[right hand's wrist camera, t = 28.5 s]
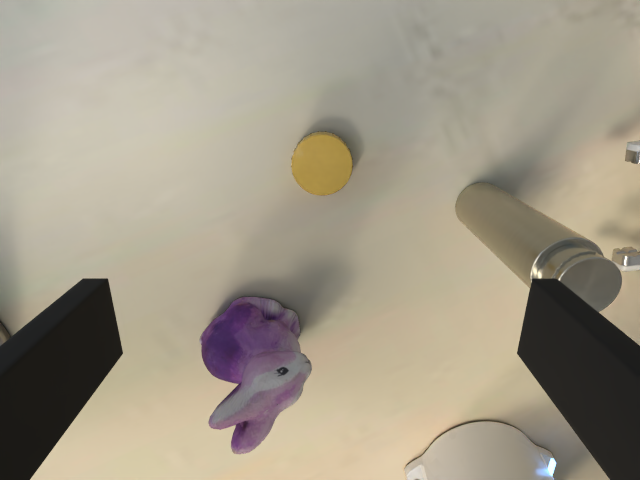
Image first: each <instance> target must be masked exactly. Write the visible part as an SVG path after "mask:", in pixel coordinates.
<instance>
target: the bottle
mask: <svg viewBox="0 0 640 480" xmlns="http://www.w3.org/2000/svg"><path fill="white" fill-rule="evenodd" d="M455 210H456V215H457V217H458V219H459V220H460V221H461V222H462V223H463V224H464V225H465V226H466V227H467V228H468V229H469V230H470V231H471V232H472V233H473V234H474V235H475V236H476V237H477V238H478V239H479V240H480V241H481V242H482V243H483V244H484V245H485V246H486V247H487V248H489V249H490V250H491V251H492V252H493V253H494V254H495V255H496V256H497V257H498V258H499V259H500V260H501V261H502V262H503V263H504V264H505V265H506V266H507V267H508V268H509V269H510V270H511V271H512V272H513V273H514V274H516V275H517V276H518V277H519V278H520V279H521V280H522V281H523V282H524V283H525V284H526V285H527V286H528V287H529V288H530V287H531V282H532V279H558V280H559V281H560V282H562V283H563V284H564V285H565V286H567V287H568V288H569V289H570V290H572V291H573V292H574V293H575V294H576V295H578V296H579V297H580V298H581V299H583V300H584V301H585V302H586V303H588V304H589V305H590V306H591V307H592V308H594V309H595V310H596V311H597V312H599V311H601V310H603V309H604V308H606V307H607V306H608V305H610V304H611V303H612V302H613V301H614V299H615V298H616V297H617V295H618V293H619V291H620V288H621V284H622V277H621V273H620V270H619V268H618V267H617V266H616V264H614V263H613V262H612V261H610V260H608V259H607V258H605V257H604V256H603V253H602V251H601V250H600V248H599V247H598V246H597V245H596V244H595V243H593V242H592V241H590V240H588V239H587V238H585V237H583V236H581V235H580V234H578V233H576V232H574V231H573V230H571V229H569V228H567V227H566V226H564V225H562V224H560V223H559V222H557V221H555V220H553V219H552V218H550V217H548V216H546V215H545V214H543V213H541V212H539V211H538V210H536V209H534V208H532V207H531V206H529V205H527V204H525V203H524V202H522V201H520V200H518V199H517V198H515V197H513V196H511V195H510V194H508V193H506V192H504V191H503V190H501V189H499V188H497V187H496V186H494V185H492V184H490V183H485V182H480V183H475V184H472V185H470V186H468V187H467V188H465V189H464V190H463V191H462V192H461V194H460V195H459V197H458V199H457V201H456V206H455Z"/></svg>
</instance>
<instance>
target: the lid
mask: <svg viewBox="0 0 640 480" xmlns="http://www.w3.org/2000/svg"><path fill="white" fill-rule="evenodd" d="M291 160H292V165H291V167H292V172H293V176H294V178H295V180H296V182H297V183H298V184H299V185H300V187H302V188H303V189H304V190H305V191H307V192H309V193H311V194H315V195H329V194H332V193H335V192H337V191H338V190H340V189H341V188H342V187H343V186H344V185H345V184H346V183H347V181H348V180H349V178H350V175H351V172H352V167H353V165H352V160H353V159H352V156H351V154H350V150H349V148H347V146H346V143H345V142H343V141H342V140H341V138H340V137H338V136H336V135H334V133H332V134H331V133H328V132H326V131H325V132H319V131H318V132H316V133H312V134H311V133H310V135H308V136H306V137H304V138H303V139H302V140H301V142H299V143H298V146H297V147H296V148H295V149H294V155H293V156H292V159H291Z"/></svg>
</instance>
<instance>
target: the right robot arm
mask: <svg viewBox="0 0 640 480" xmlns="http://www.w3.org/2000/svg"><path fill="white" fill-rule="evenodd" d="M122 354H123V351H122V346H121V341H120V336H119V331H118V326H117V321H116V317H115V312H114V307H113V302H112V297H111V292H110V287H109V282H108V279H82V280H81V281H80V282H78V283H77V284H76V285H75V286H73V287H72V288H71V289H70V290H68V291H67V292H66V293H65V294H64V295H62V296H61V297H60V298H59V299H57V300H56V301H55V302H54V303H52V304H51V305H50V306H49V307H48V308H46V309H45V310H44V311H43V312H41V313H40V314H39V315H38V316H36V317H35V318H34V319H33V320H32V321H30V322H29V323H28V324H27V325H25V326H24V327H23V328H22V329H20V330H19V331H18V332H17V333H16V334H14V335H13V336H12V337H11V338H10V336H9V334H8V332H7V331H6V329H5V328H4V326H3V325H2V324H1V322H0V480H30V479H31V477H32V476H33V475H34V473H35V472H36V471H37V469H38V468H39V467H40V465H41V464H42V462H43V461H44V460H45V458H46V457H47V456H48V454H49V453H50V452H51V450H52V449H53V448H54V446H55V445H56V443H57V442H58V441H59V439H60V438H61V437H62V435H63V434H64V433H65V431H66V430H67V429H68V427H69V426H70V424H71V423H72V422H73V420H74V419H75V418H76V416H77V415H78V414H79V412H80V411H81V410H82V408H83V407H84V405H85V404H86V403H87V401H88V400H89V399H90V397H91V396H92V395H93V393H94V392H95V391H96V389H97V388H98V387H99V385H100V384H101V382H102V381H103V380H104V378H105V377H106V376H107V374H108V373H109V372H110V370H111V369H112V368H113V366H114V365H115V363H116V362H117V361H118V359H119V358H120V357H121V355H122ZM517 354H518V355H519V357H520V358H521V359H522V361H523V362H524V363H525V365H526V366H527V368H528V369H529V370H530V372H531V373H532V374H533V376H534V377H535V378H536V380H537V381H538V382H539V384H540V385H541V387H542V388H543V389H544V391H545V392H546V393H547V395H548V396H549V397H550V399H551V400H552V401H553V403H554V404H555V405H556V407H557V408H558V410H559V411H560V412H561V414H562V415H563V416H564V418H565V419H566V420H567V422H568V423H569V424H570V426H571V427H572V429H573V430H574V431H575V433H576V434H577V435H578V437H579V438H580V439H581V441H582V442H583V443H584V445H585V446H586V448H587V449H588V450H589V452H590V453H591V454H592V456H593V457H594V458H595V460H596V461H597V462H598V464H599V465H600V467H601V468H602V469H603V471H604V472H605V473H606V475H607V476H608V477H609V479H610V480H640V346H639V345H638V344H637V343H636V342H634V341H633V340H632V339H631V338H629V337H628V336H627V335H626V334H624V333H623V332H622V331H621V330H620V329H618V328H617V327H616V326H615V325H613V324H612V323H611V322H610V321H608V320H607V319H606V318H605V317H604V316H602V315H601V314H600V313H599V312H597V311H596V310H595V309H594V308H592V307H591V306H590V305H589V304H588V303H586V302H585V301H584V300H583V299H581V298H580V297H579V296H578V295H576V294H575V293H574V292H573V291H572V290H570V289H569V288H568V287H567V286H565V285H564V284H563V283H562V282H560V281H559V280H558V279H532V282H531V287H530V292H529V297H528V302H527V307H526V312H525V317H524V321H523V326H522V331H521V336H520V341H519V346H518V351H517Z"/></svg>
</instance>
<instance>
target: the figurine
mask: <svg viewBox="0 0 640 480" xmlns="http://www.w3.org/2000/svg"><path fill="white" fill-rule="evenodd" d="M299 327H300V326H299V320H298V316H297V315H296V313H295V312H294V311H293V310H289V309H286V308H283V307H282V306H281V304H280V303H279V302H277V301H275V300H271V299H267V298H266V299H265V298H259V297H241V298H238V299H236V300H234V301H233V302H232V303H231V305H230V306H229V307H228V309H227V310H226V311H225V312H224V313H223V314H221V315H220V316H218V317H217V318H215V319H214V320H213V321H212V322H211V323H210V325H209V326H208V327H207V328H206V329H205V331H204V332H203V333H202V335H201V337H200V343H201V345H202V358H203V361H204V364H205V366H206V367H207V369H208V371H209V372H210V373H211V374H212V375H213V376H215V377H217V378H218V379H221V380H224V381H228V382H232V383H237V384H239V385H238V386H237V387H236V388H235V389H234V390H233V391H232V392H231V393H230V394H229V395H228V396H227V397H226V398H225V399H224V400H223V401H222V402H221V403H220V404H219V405H218V406H217V408H216V409H215V411H214V412H213V413H212V415H211V416H210V419H209V426H210V427H211V428H213V429H220V430H221V429H224V428H228V427H230V426H233V425H236V428H235V430H234V433H233V437H232V441H231V448H232V451H233V453H234V454H241V453H243V454H244V453H248V452H250V451H252V450H253V449H255V448H256V447H257V446H258V445H259V444H260V443H261V442H262V441H263V440H264V439H265V437H266V436H267V435H268V433H269V432H270V430H271V428H272V426H273V423H274V421H275V419H276V417H277V416H278V415H279V413H280V412H282V411H283V410H284V409H286V408H288V407H289V406H291V405H293V404H294V403H295V402H296V401H297V400H298V399H299V397H300V396H301V393H302V391H303V385H304V383H305V381H306V379H307V378H308V376H309V375H310V373H311V370H312V366H311V362H310V361H309V360H308V358H307V357H306V356H305V355H304V354H302V353H301V350H300V345H299V342H298V338H299V336H300V332H301V331H300V328H299Z"/></svg>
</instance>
